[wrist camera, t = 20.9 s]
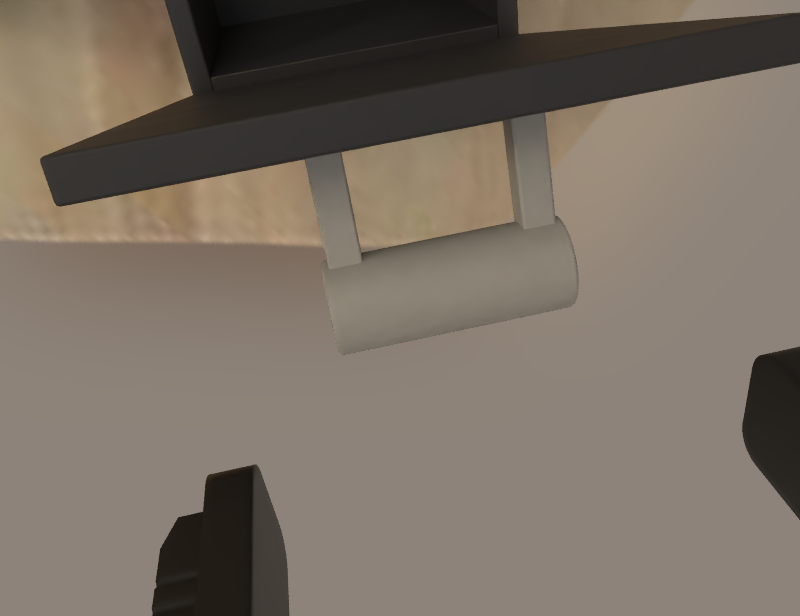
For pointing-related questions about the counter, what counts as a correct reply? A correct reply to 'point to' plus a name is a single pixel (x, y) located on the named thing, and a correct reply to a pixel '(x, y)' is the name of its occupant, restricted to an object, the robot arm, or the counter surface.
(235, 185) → the counter surface
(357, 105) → the charcoal box lid
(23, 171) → the counter surface
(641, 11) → the counter surface
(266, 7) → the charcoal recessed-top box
